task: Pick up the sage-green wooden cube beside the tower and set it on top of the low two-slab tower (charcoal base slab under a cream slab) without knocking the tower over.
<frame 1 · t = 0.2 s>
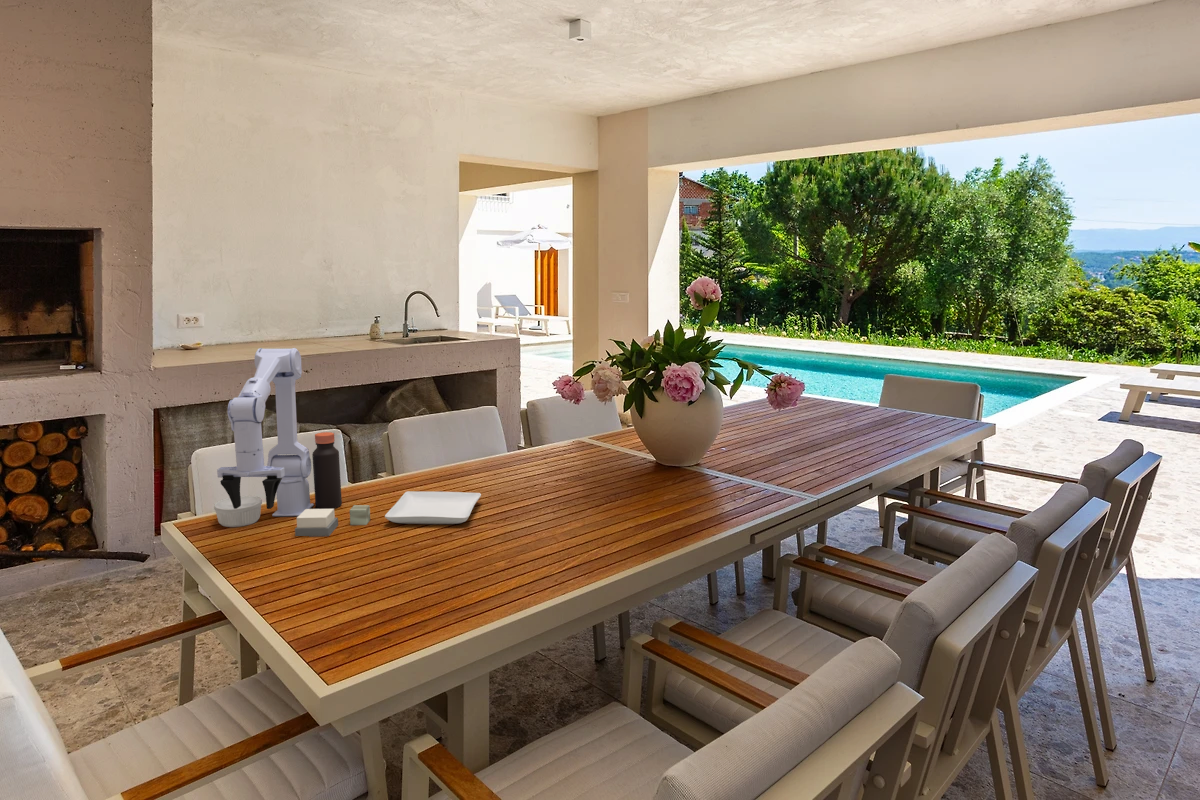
hand: (253, 507, 180), 10 cm above the table, tool pointing down, fingers open, 7 cm apart
salad plate: (435, 516, 207), on the table
charcoal slab: (317, 532, 194), on the table, touching cream slab
bottle: (328, 506, 213), on the table
sage cube: (360, 522, 200), on the table
cream slab: (316, 522, 193), point 2 cm above the table, touching charcoal slab
ramekin: (239, 522, 201), on the table
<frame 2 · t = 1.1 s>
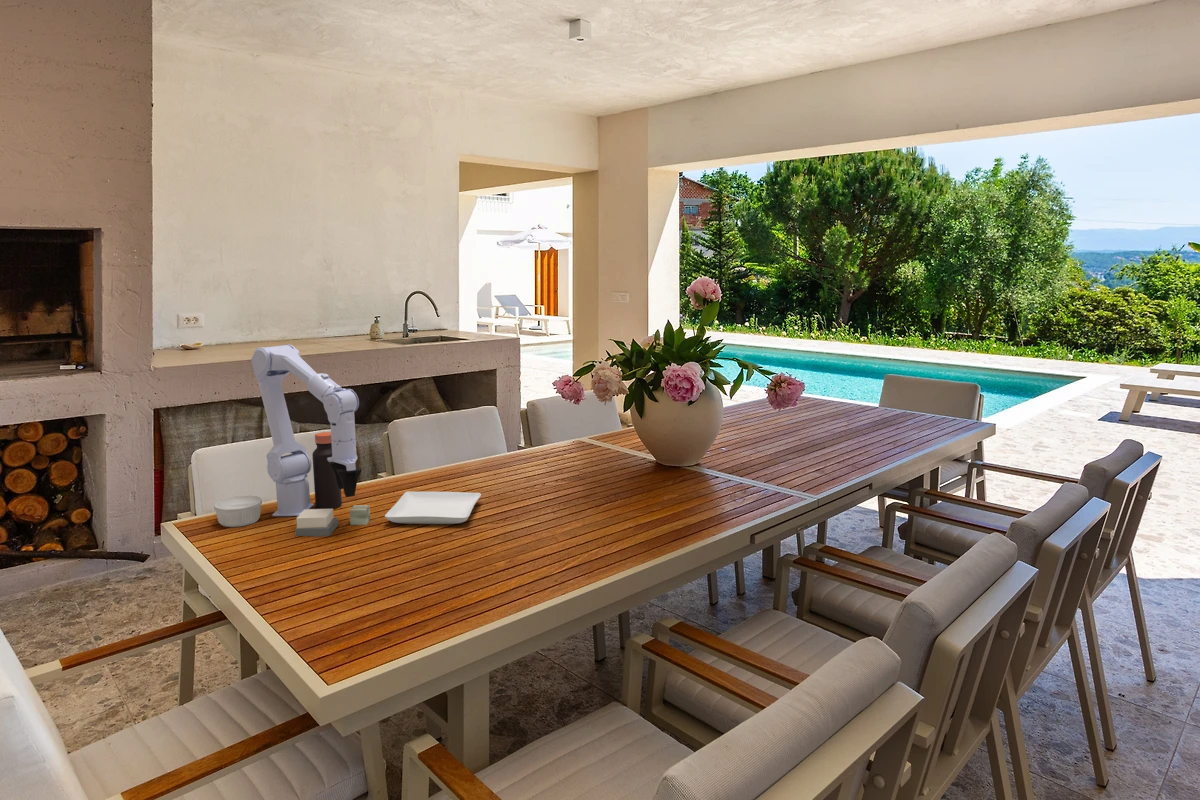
hand: (346, 492, 196), 9 cm above the table, tool pointing down, fingers open, 7 cm apart
nothing on the table moved.
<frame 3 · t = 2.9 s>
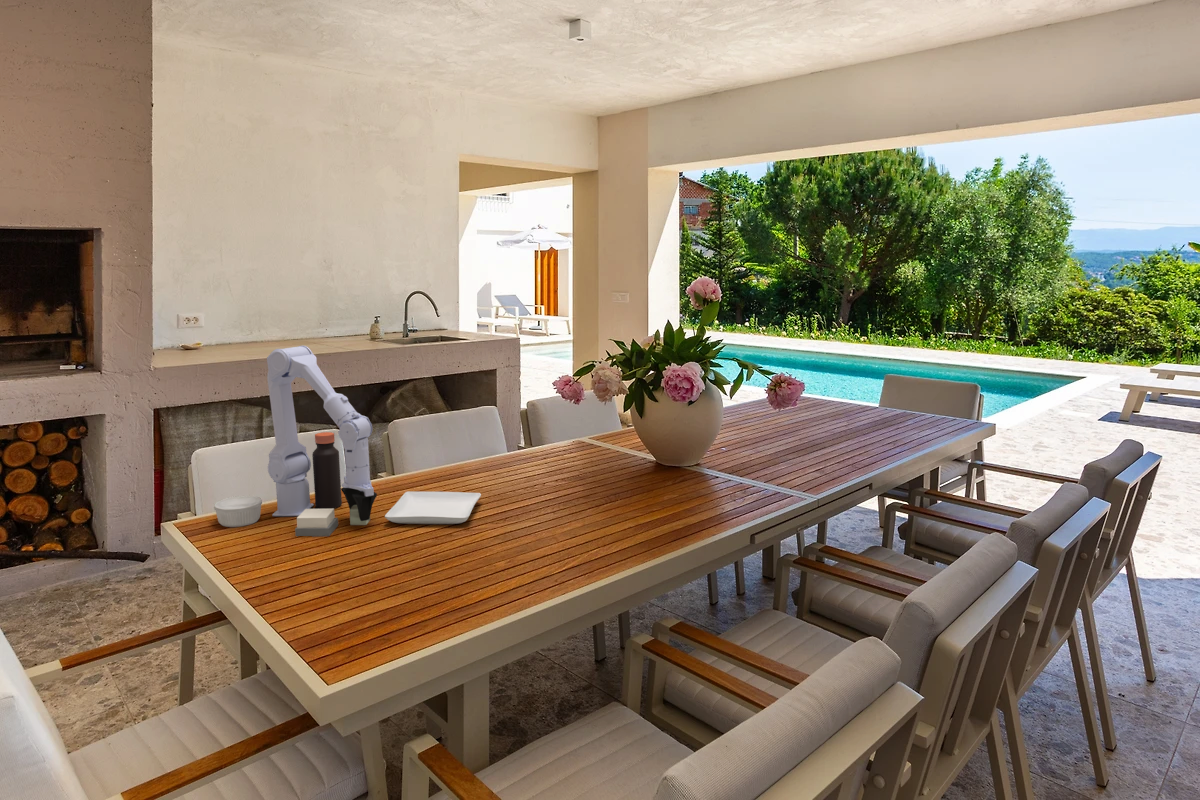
hand: (360, 516, 200), 1 cm above the table, tool pointing down, fingers closed on sage cube, 6 cm apart
sage cube: (360, 522, 200), on the table, touching gripper
everything else where it was.
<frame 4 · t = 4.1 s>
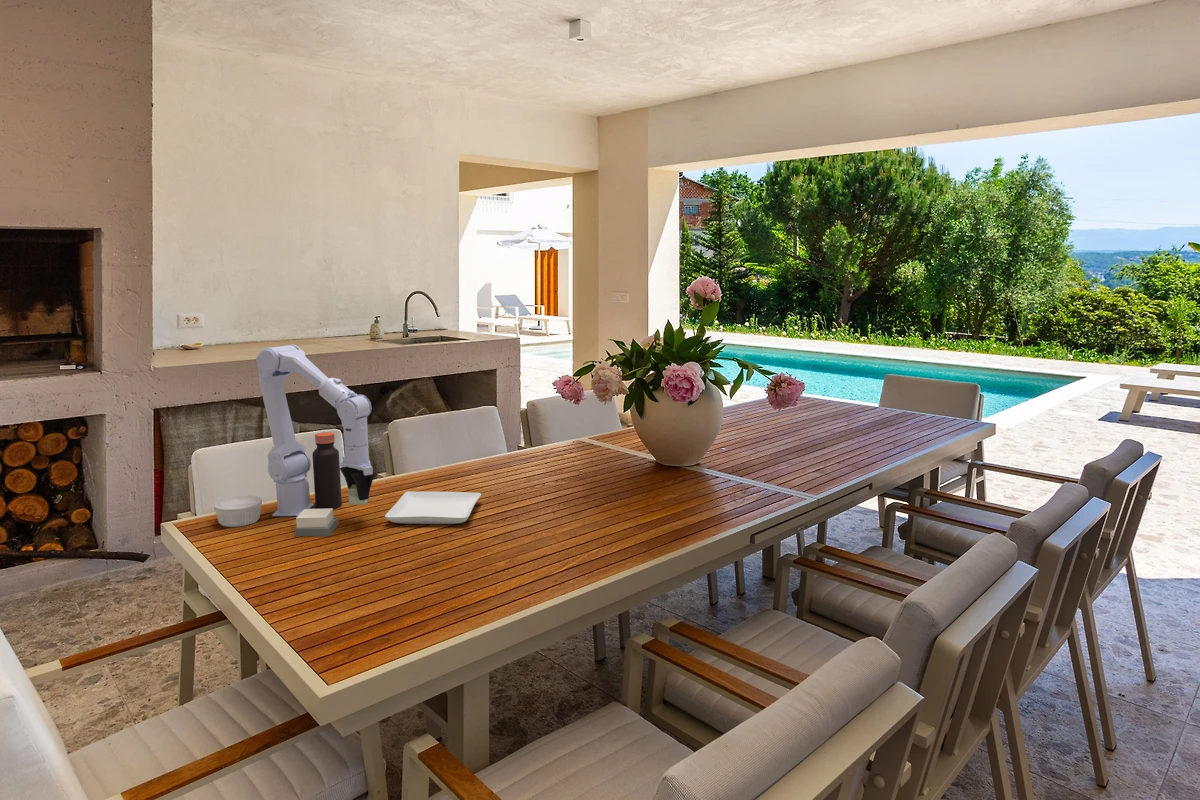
hand: (358, 496, 199), 7 cm above the table, tool pointing down, fingers closed on sage cube, 6 cm apart
sage cube: (359, 502, 199), point 5 cm above the table, touching gripper
everything else where it was.
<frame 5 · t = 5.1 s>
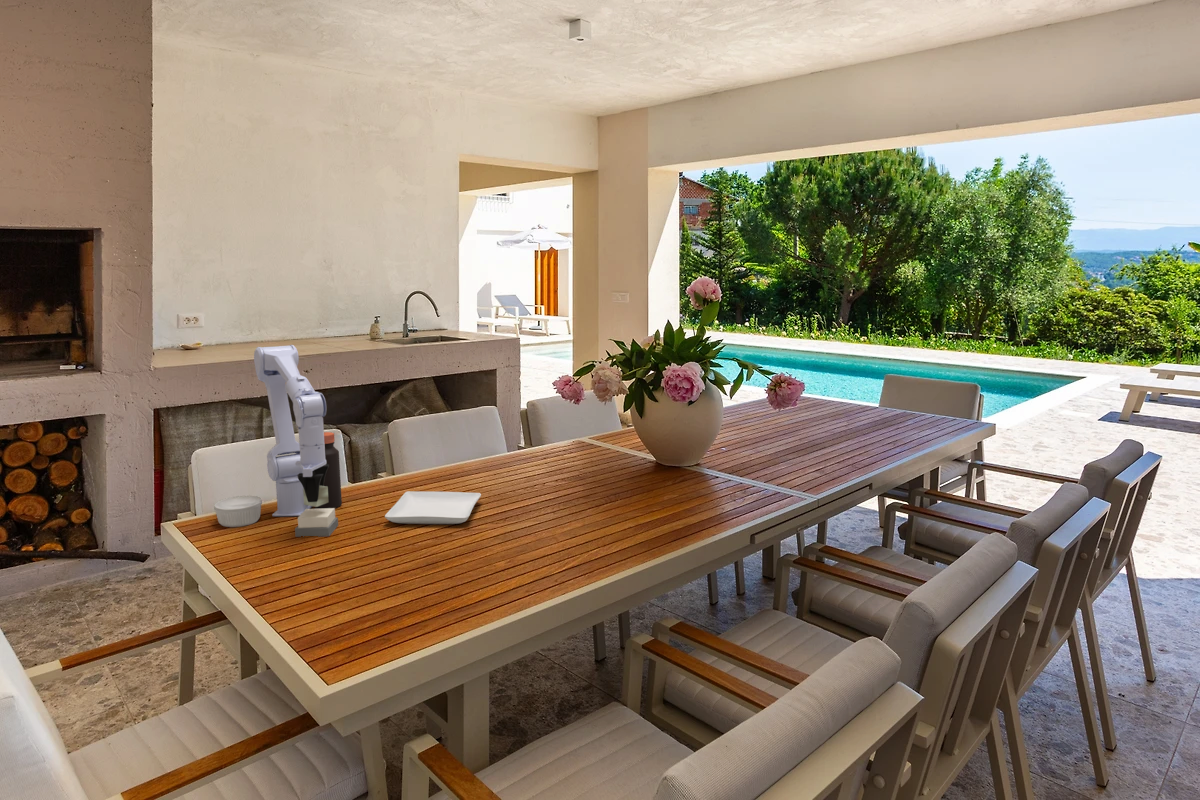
hand: (315, 497, 192), 8 cm above the table, tool pointing down, fingers closed on sage cube, 5 cm apart
charcoal slab: (317, 532, 194), on the table
sage cube: (316, 503, 193), point 7 cm above the table, touching gripper
cream slab: (317, 522, 193), point 2 cm above the table
everything else where it was.
when the fingers open (7 cm above the table, at t = 6.0 s): sage cube drops 2 cm, resting on cream slab.
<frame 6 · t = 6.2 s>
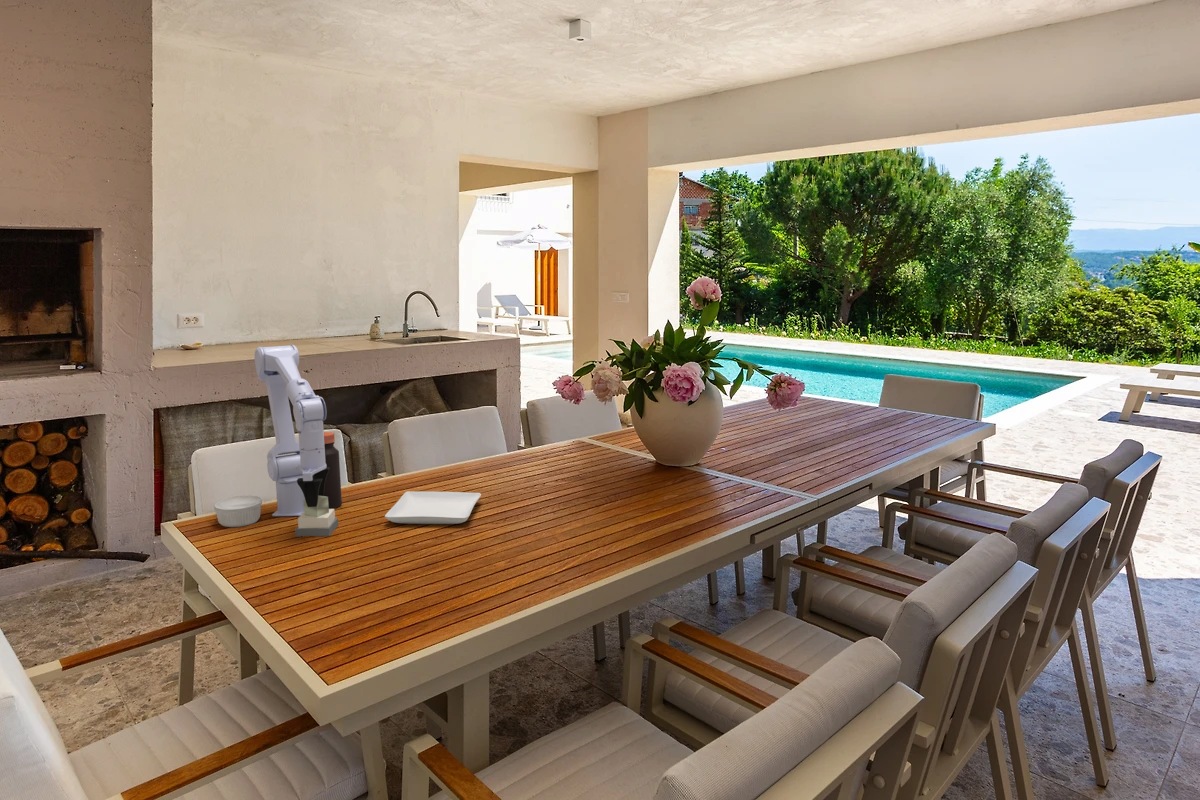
hand: (315, 501, 192), 7 cm above the table, tool pointing down, fingers open, 7 cm apart
charcoal slab: (317, 533, 194), on the table, touching cream slab
sage cube: (316, 513, 193), point 4 cm above the table, touching cream slab
cream slab: (317, 523, 193), point 2 cm above the table, touching charcoal slab, sage cube
everything else where it was.
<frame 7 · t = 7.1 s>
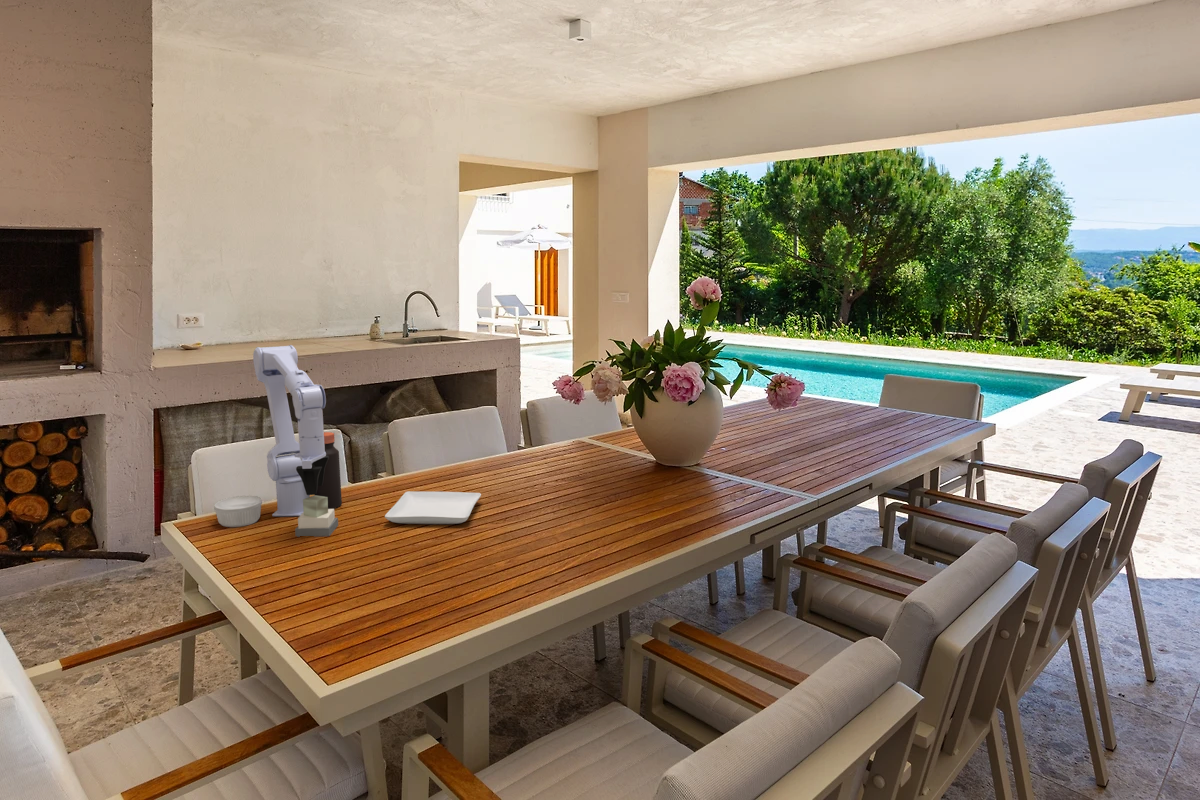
hand: (314, 490, 192), 10 cm above the table, tool pointing down, fingers open, 7 cm apart
nothing on the table moved.
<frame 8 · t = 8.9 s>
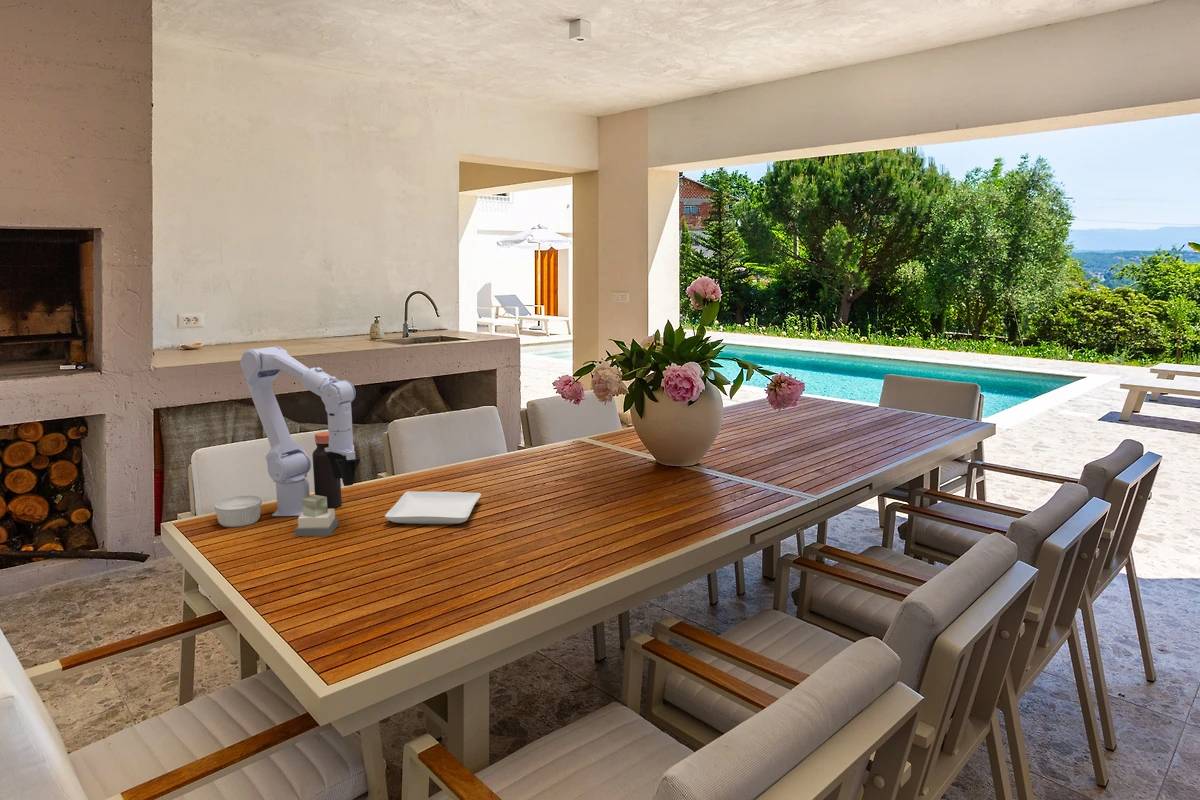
hand: (343, 481, 199), 10 cm above the table, tool pointing down, fingers open, 7 cm apart
sage cube: (315, 513, 193), point 4 cm above the table
cream slab: (317, 523, 193), point 2 cm above the table, touching charcoal slab
everything else where it was.
at the end: sage cube 0.3 cm off-centre on the cream slab, point 2.6 cm above the cream slab's base; cream slab 0.2 cm off-centre on the charcoal slab, point 2.5 cm above the charcoal slab's base; sage cube tilted 1° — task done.
